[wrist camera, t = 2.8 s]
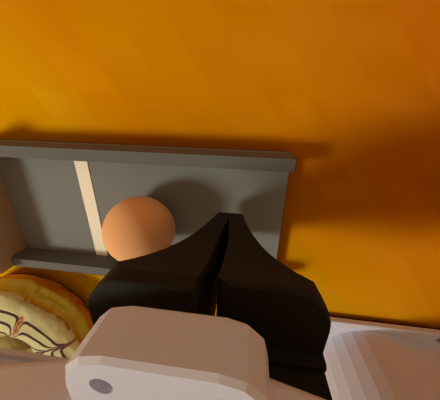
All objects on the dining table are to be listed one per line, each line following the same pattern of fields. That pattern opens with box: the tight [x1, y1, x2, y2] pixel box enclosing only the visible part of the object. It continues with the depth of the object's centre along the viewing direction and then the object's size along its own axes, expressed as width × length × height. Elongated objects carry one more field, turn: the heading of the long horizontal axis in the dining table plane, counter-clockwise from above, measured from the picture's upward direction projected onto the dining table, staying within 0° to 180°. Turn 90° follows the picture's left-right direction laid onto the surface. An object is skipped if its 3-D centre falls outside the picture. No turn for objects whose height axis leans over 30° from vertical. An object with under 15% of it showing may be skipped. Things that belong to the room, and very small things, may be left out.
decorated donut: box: [0, 274, 94, 358], centre depth 18 cm, size 10×11×4 cm
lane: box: [0, 139, 296, 276], centre depth 13 cm, size 18×8×3 cm, turn 89°
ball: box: [102, 196, 175, 261], centre depth 12 cm, size 4×4×4 cm
